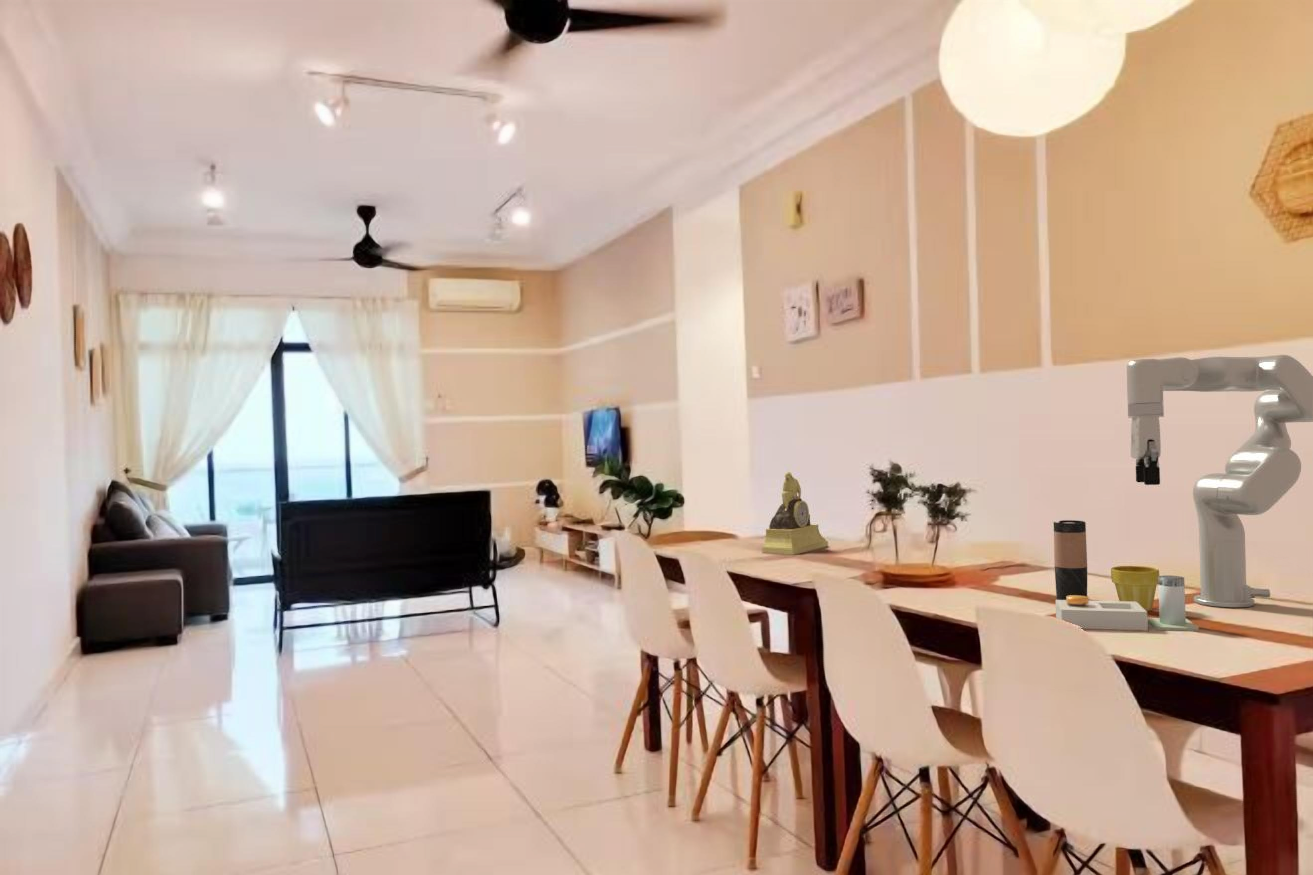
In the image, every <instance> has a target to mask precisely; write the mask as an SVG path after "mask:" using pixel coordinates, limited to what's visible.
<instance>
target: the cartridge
mask: <svg viewBox="0 0 1313 875" xmlns="http://www.w3.org/2000/svg"><path fill="white" fill-rule="evenodd" d="M1157 585H1158V607H1159V608H1158V609H1159V610H1158V612H1159V618H1160V623H1162V624H1167V625H1184V624H1186V619H1187V616H1186V591H1185V588H1186V587H1185V577H1184V576H1182V575H1181V576H1180V575H1159V577H1158V584H1157Z"/></svg>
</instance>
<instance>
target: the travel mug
mask: <svg viewBox="0 0 1313 875" xmlns="http://www.w3.org/2000/svg"><path fill="white" fill-rule="evenodd" d="M1086 525H1087V523H1086V521H1084V520H1074V519H1072V520H1071V519H1068V520H1067V519H1062V520H1059V521H1058V522H1056V521H1053V552H1054V554H1053V558H1054V560H1053V561H1054V562H1053V563H1054V565H1053V566H1054V578H1055V580H1054V581H1055V592H1056V600H1066V596H1070V595H1080V596H1087V597H1088V554H1087V553H1088V552H1087V548H1088V547H1087V529H1086V528H1087V526H1086Z"/></svg>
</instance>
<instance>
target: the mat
mask: <svg viewBox="0 0 1313 875" xmlns="http://www.w3.org/2000/svg"><path fill="white" fill-rule="evenodd" d="M1147 622H1149V624H1150V625H1152V626H1153V627H1154V628H1155V629H1156V630H1157V631H1181V632H1183V631H1185V632H1187V631H1189V632H1199V631H1200V628H1199V627H1198V626H1197V625H1195V624H1194V622H1192V621H1191V620H1189V619H1188V618H1186V624H1184V625H1167V624H1162V623H1160V617H1147Z"/></svg>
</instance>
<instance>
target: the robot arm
mask: <svg viewBox="0 0 1313 875" xmlns="http://www.w3.org/2000/svg"><path fill="white" fill-rule="evenodd" d="M1179 391H1180V392H1200V393H1201V392H1202V393H1204V392H1205V393H1207V392H1208V393H1214V392H1219V393H1220V392H1227V393H1228V392H1243V393H1244V392H1248V393H1249V392H1250V393H1251V392H1262V393H1261V394H1259V395H1258V396H1257V397H1256V399H1255V402H1254V405H1253V413H1254V420H1255V422H1254V423H1255V430H1254V432H1253V434H1252V435H1251V436H1250V437H1248V439H1247V440H1246V441H1245V442H1244V443H1242V445H1241V446H1240V447H1239V448H1238V449H1237V450H1236V451H1235V452H1233V453H1232V455H1231V456H1230V457H1229V458H1228V460H1227V461H1226V462H1225V463H1226V464H1225V467H1224V468H1225V469H1224V471H1225V473H1209V474H1206V475H1203V476H1201V477H1200V478H1199V479H1197V481H1195V483H1194V485H1193V490H1192V495H1193V496H1192V497H1193V501H1194V506H1195V509H1196V514H1197V520H1198V535H1199V537H1198V543H1199V574H1200V575H1199V576H1200V577H1199V579H1200V594H1196V595H1194V596H1193V602H1195V603H1196V604H1199V605H1204V606H1210V607H1211V606H1212V607H1218V608H1219V607H1220V608H1248V607H1253V606H1255V598H1256V597H1259V598H1270V596H1271V591H1270V589H1269V588H1260V587H1259V588H1257V587H1256V588H1255V587H1251V586H1250V585H1249V584H1247V563H1246V561H1247V559H1246V533H1245V528H1244V527H1245V526H1244V525H1243V522H1242V519H1241V518H1240V517H1239V515H1242V516H1243V515H1244V516H1259V515H1262V514H1265V513H1266V512H1267V511H1269V510H1271V508H1273V506H1275V505H1276V504H1277V503H1278V502H1279V501H1280V499H1281V498H1283V497H1284V496H1285V495H1286V493H1288V492H1289V491H1290V489H1292V487H1294V486H1295V484H1296V483H1297V482H1298V480H1299V478H1300V475H1301V471H1302V463H1301V459H1300V457H1299V455H1298V454H1297V453H1296V452H1295V451H1294V450H1293V449H1291V446H1292V440H1291V437H1290V435H1289V433H1288V430H1287V428H1288V427H1287V425H1286V423H1313V374H1312V373H1311V372H1310V371H1309V369H1307V368H1306V367H1305V366H1304V365H1303V364H1302V363H1301V362H1300V361H1299V360H1298V359H1296V358H1294V357H1292V356H1291V355H1287V354H1277V355H1266V356H1265V355H1264V356H1251V357H1250V356H1210V357H1203V358H1202V357H1201V358H1195V359H1190V358H1187V357H1179V356H1177V357H1170V358H1160V359H1159V358H1158V359H1157V358H1143V359H1140V358H1139V359H1133V360H1130V361H1129V362H1127V364H1126V394H1127V400H1126V401H1127V419H1131V425H1130V457H1131V458H1132V459H1134V460H1135V482H1136V483H1144V485H1146V486H1153V485H1154V486H1157V485H1158V486H1159V485H1161V476H1160V475H1161V473H1160V472H1161V469H1160V461H1159V458H1160V457H1161V452H1162V451H1161V450H1162V449H1161V446H1162V445H1161V443H1162V442H1161V428H1160V426H1161V425H1160V418H1164V417H1165V415H1164V414H1165V412H1164V410H1165V409H1164V392H1179Z"/></svg>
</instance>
